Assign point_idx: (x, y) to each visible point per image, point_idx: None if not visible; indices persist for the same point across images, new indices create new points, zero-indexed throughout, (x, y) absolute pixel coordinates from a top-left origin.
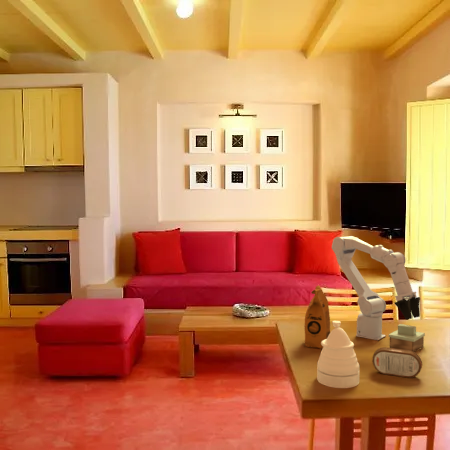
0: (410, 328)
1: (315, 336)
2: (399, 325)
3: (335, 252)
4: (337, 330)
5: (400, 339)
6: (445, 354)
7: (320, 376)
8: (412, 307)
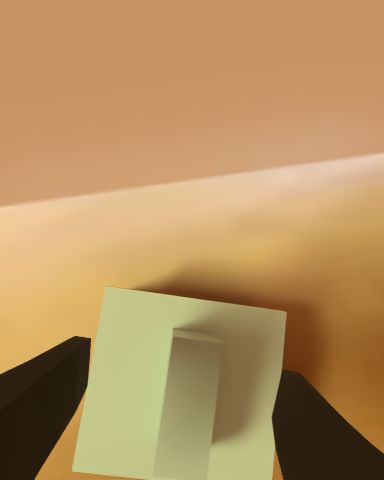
0: (219, 366)
1: None
2: (207, 466)
3: None
4: None
5: None
6: (198, 179)
7: None
8: (20, 468)
